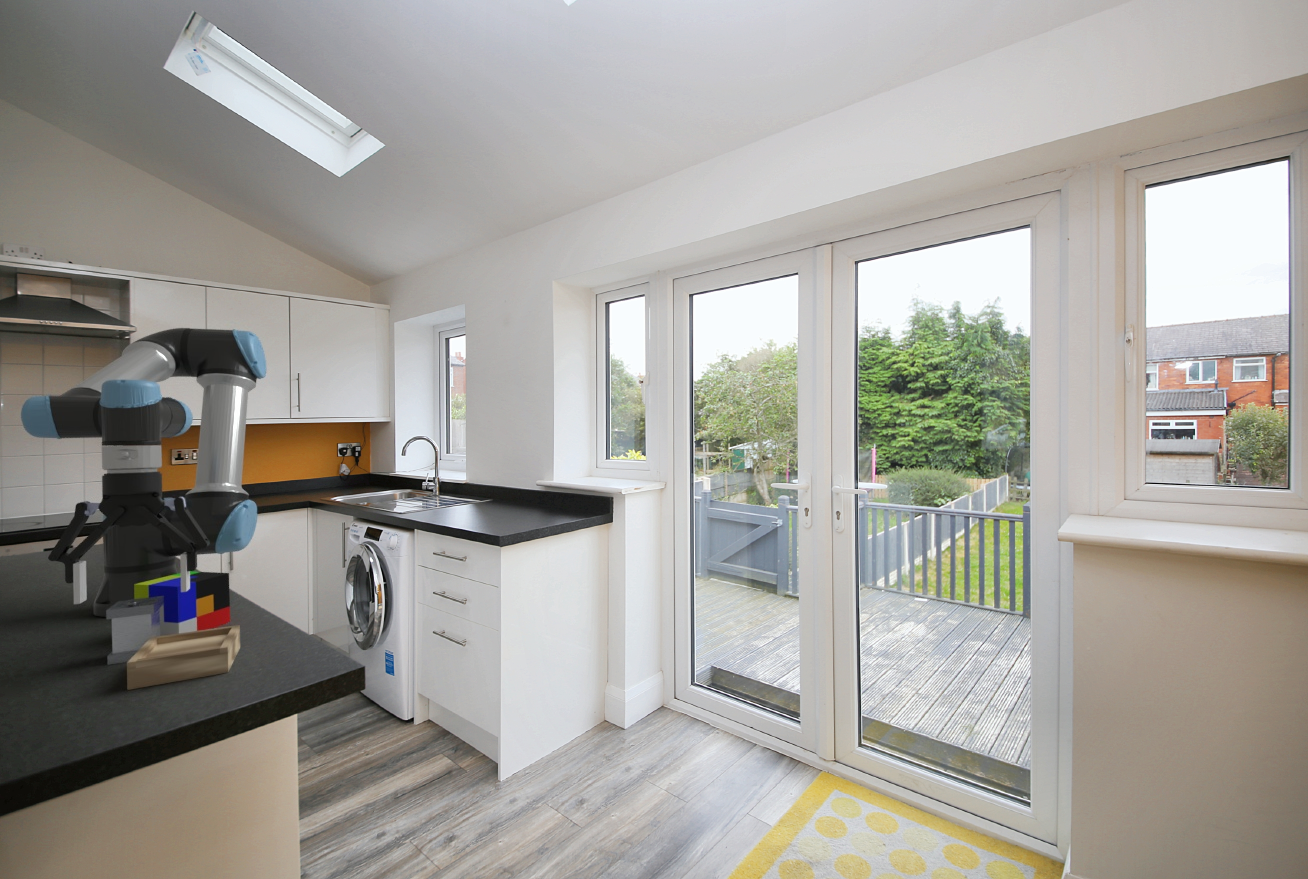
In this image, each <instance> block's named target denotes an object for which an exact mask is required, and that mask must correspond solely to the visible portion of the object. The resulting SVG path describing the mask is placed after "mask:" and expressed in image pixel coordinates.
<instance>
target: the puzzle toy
mask: <svg viewBox="0 0 1308 879" xmlns="http://www.w3.org/2000/svg"><path fill="white" fill-rule="evenodd" d="M157 596H164V605H162V606H161V607H160V636H164V635H172V634H179V633H186V632H193V631H200V630H207V629H211V628H215V627H216V628H219V627H221V626H220V625H222V626H224V625H223V624H225V625H227V624H226V623H228V622H230V623H231V606H230V604H231V603H230V602H231V601H230V596H231V595H230V572H213V571H195V570H194V571H190V589H189V590H188V591H187V592H181V572H178V574H175V575H170V576H166V577H162V578H158V579H154V580H150V581H146V582H142V583H138V584H134V599H140V598H149V597H157ZM228 624H229V623H228ZM218 626H219V627H218Z"/></svg>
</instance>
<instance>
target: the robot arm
mask: <svg viewBox="0 0 1308 879" xmlns="http://www.w3.org/2000/svg"><path fill="white" fill-rule="evenodd" d="M266 374H267V360H266V356H265V351H264V348H263V345H262V342H261V340H260V338H259V336H258V335H257V334H255V333H254V332H252V331H249V330H239V329H238V330H236V329H214V328H212V329H211V328H210V329H209V328H190V327H177V328H170V329H166V330H162V331H158V332H154V333H151V334H149V335H145V336H143V337H141V338H138V339H137V340H136V341H133V342H132V343H130V344H128V345H127V346H126V347H125V348H124V349H123V351H122V353H121V356H120V357H118V358H116V359H115V360H113V361H112V362H110V363H109V364H107V365H105V366H104V367H102V368H101V369H99V370H98V371H95V373H93V374H92V375H90V376H88V377H87V378H86V379H84V380H82V381H81V382H79V383H78V384H76V385H75V386H73V387H71V388H70V389H68V390H66V391H65V392H64V393H62V394H59V395H51V394H46V395H38V396H37V395H35V396H31V397H29V398H27V399H26V400H25V401H24V403H23V404H22V407H21V410H20V420H21V424H22V425H23V428H24V430H25V431H26V432H27V433H28V434H29V435H30V436H32V437H34V438H38V439H39V438H43V439H57V440H62V439H89V438H91V439H93V438H94V439H95V438H101V469H102V470H103V471H106V473H103V475H101V484H102V485H101V490H102V491H101V492H102V493H101V494H102V499H101V501H100V502H90V501H87V500H85V501H81V502H77V503H76V504H75V507H74V508H75V509H74V516H73V517H72V519H71V521H70V522H69V523H68V525H67V527H66V528H65V529H64V531H63V533H62V534H61V536H60V538H59V539H58V541H57V542H56V544H55V546H54V547H53V548H52V550H51V552H50V553H49V555H48V557H47V559H48V560H49V561H50V562H59V563H62V564H64V580H65V583H66V584H73V586H72V587H73V605H79V604H82V603H83V602H85V601H87V600H88V599H87V598H88V597H87V595H88V594H87V592H88V591H87V590H88V589H87V560H81V558H82V557H84V555H85V554H86V553H88V551H89V550H91V549H92V547H93V546H95V545H96V544H97V543H98V542H99V541H100V540H101V539H102V548H103V553H102V554H103V574H104V575H103V578H102V581H101V583H100V586H99V588H98V592H97V593H96V597H95V599H94V601H93V615H94V616H95V617H96V616H97V617H101V618H102V617H103V618H106V610H107V609H109V608H110V607H111V606H113V605H114V604H115V603H117V602H118V601H123V600H131V599H134V584H138V583H142V582H146V581H150V580H154V579H158V578H162V577H166V576H170V575H175V574H179V572H178V570H177V567H176V557H180V561H179V563H180V564H179V565H180V573H181V592H187V591H188V590H189V589H190V571H194V572H195V571H196V569H197V568H198V555H199V556H200V555H211V554H218V555H223V554H225V553H233V552H235V553H236V552H240V551H242V550H244V549H245V548H247V546H249V544H250V543H251V541H252V540H253V537H254V534H255V531H256V528H257V523H258V505H257V503H256V502H255V501H254V500H252V499H249V498H250V497H249V496H250V494H249V493H248V492H247V491H246V489H245V490H244V489H243V487H242V482H243V481H242V480H243V470H244V469H243V467H244V456H245V454H244V453H245V443H246V442H245V440H246V439H245V438H246V426H247V425H246V424H247V412H248V399H249V398H248V397H249V392H251V391H252V390H254V389H255V388H256V387H257V379H258V380H261V379H264V378H266ZM177 377H178V378H179V377H180V378H181V377H185V378H187V377H189V378H191V377H192V378H196V380H195V381H196V382H197V384H199V385H200V386H201V388H203V396H202V406H201V416H200V426H199V428H200V429H199V440H198V449H197V461H196V472H195V474H196V475H195V484H194V487H193V488H192V489H190V490H189V491H188V492H187V493H185V497H184V496H178V497H175V498H173V497H169V496H168V497H164V496H163V473H162V472H161V471H158V469H160V468H162V467H163V460H162V457H163V456H162V439H163V438H164V439H165V438H167V439H170V438H173V437H179V436H181V435H183V434H184V433H186V432H187V431H188V430H189V429H190V428H191V426H192V424H193V421H194V416H193V412H192V410H191V409H190V407H189V406H188V405H187V404H186V403H184V402H183V401H180V400H178V399H175V398H173V397H170V396H166V397H165V396H164V397H163V396H162V393H161V386H160V385H159V384H158V383H161V382H163V381H166V380H168V379H169V378H177ZM97 510H99V512H100V513H101V514H102V515H103V517H102V521H101V522H100V523H99V524H98V525H97V526H96V528H95V529H94V530H93V531H92V532H90V534H88V535H87V536H86V537H85V538H84V539H83V540H82V541H81V542H80V543H79V544H78V545H77V546H76V547H75V548H74V549H72V550H71V552H68V551H69V550H70V548H71V547H72V545H73V543H74V542H75V540H76V539H77V537H78V535H79V534H80V532H82V531H81V530H82V529H83V528H84V526H85V524H86V523H87V521H88V520H89V519H90V516H92V515H94V514H95V513H96V511H97Z"/></svg>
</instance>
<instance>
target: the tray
mask: <svg viewBox="0 0 1308 879" xmlns="http://www.w3.org/2000/svg"><path fill="white" fill-rule="evenodd" d="M240 649H241V624H237V625H231V626H220V627H216V628H214V629H207V630H200V631H193V632H186V633H179V634H172V635H164V636H157V637H151V638H150V639H149V640H148V641H147V642H146V643H145V644H144V645H143V646H142V647H141V648H140V650H139V651H138V652H137V653H136V654H135V655H134V656H133V657H132V658H131V659H130V660H129V661H128V662H126V680H127V681H126V684H127V685H126V687H127V690H128V691H129V690H134V689H141V688H147V687H151V686H152V687H153V686H158V685H163V684H169V683H175V682H181V681H182V682H183V681H187V680H192V679H198V678H203V677H210V676H215V675H222V674H228V673H229V671H230V669H231V668H232V665H233V663H234V661H235V660H236V657H237V655H238V654H239V651H240Z"/></svg>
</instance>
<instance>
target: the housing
mask: <svg viewBox="0 0 1308 879" xmlns="http://www.w3.org/2000/svg"><path fill="white" fill-rule="evenodd" d="M162 605H164V596H157V597H149V598H140V599H131V600H123V601H118V602H117V603H115V604H114V605H113V606H111V607H110V608H109V609H107V610H106V617H105V619H106V620H111V643H112V644H111V646H112V647H111V648H112V650H111V652H110V653H109V654H107V666H110V665H116V664H122V663H127V662H128V661H129V660H130V659H131V658H132V657H133V656H134V655H135V654H136V653H137V652H138V651H139V650H140V648H141V647H142V646H143V645H144V644H145V643H146V642H147V641H148V640H149V639H150V638H151V637H157V636H160V607H161V606H162Z"/></svg>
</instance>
